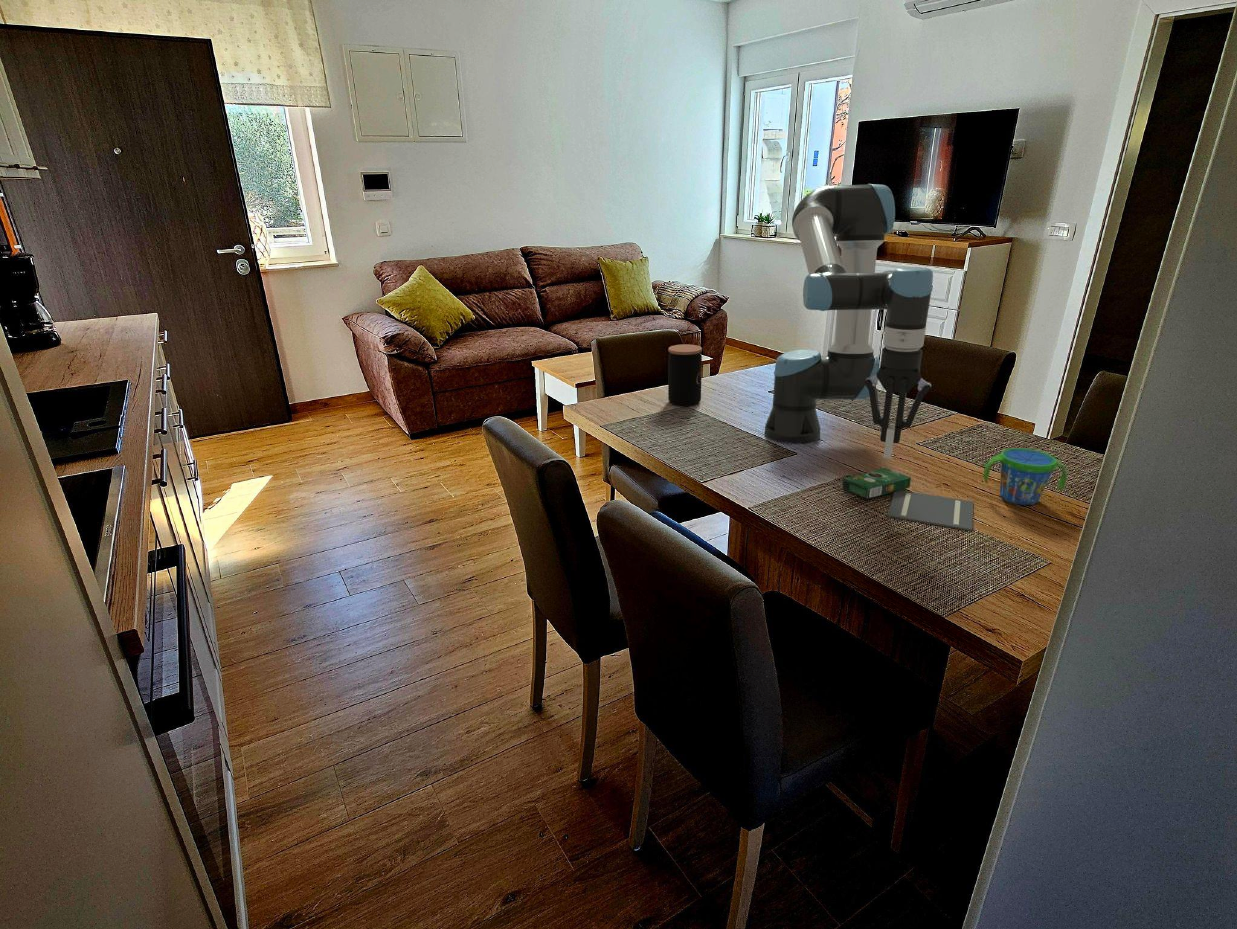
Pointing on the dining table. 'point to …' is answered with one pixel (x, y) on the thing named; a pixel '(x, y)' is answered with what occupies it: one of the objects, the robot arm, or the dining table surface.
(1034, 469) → the snack cup
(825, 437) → the dining table surface
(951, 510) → the mat
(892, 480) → the coffee box
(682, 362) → the coffee jar
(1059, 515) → the dining table surface
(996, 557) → the dining table surface
